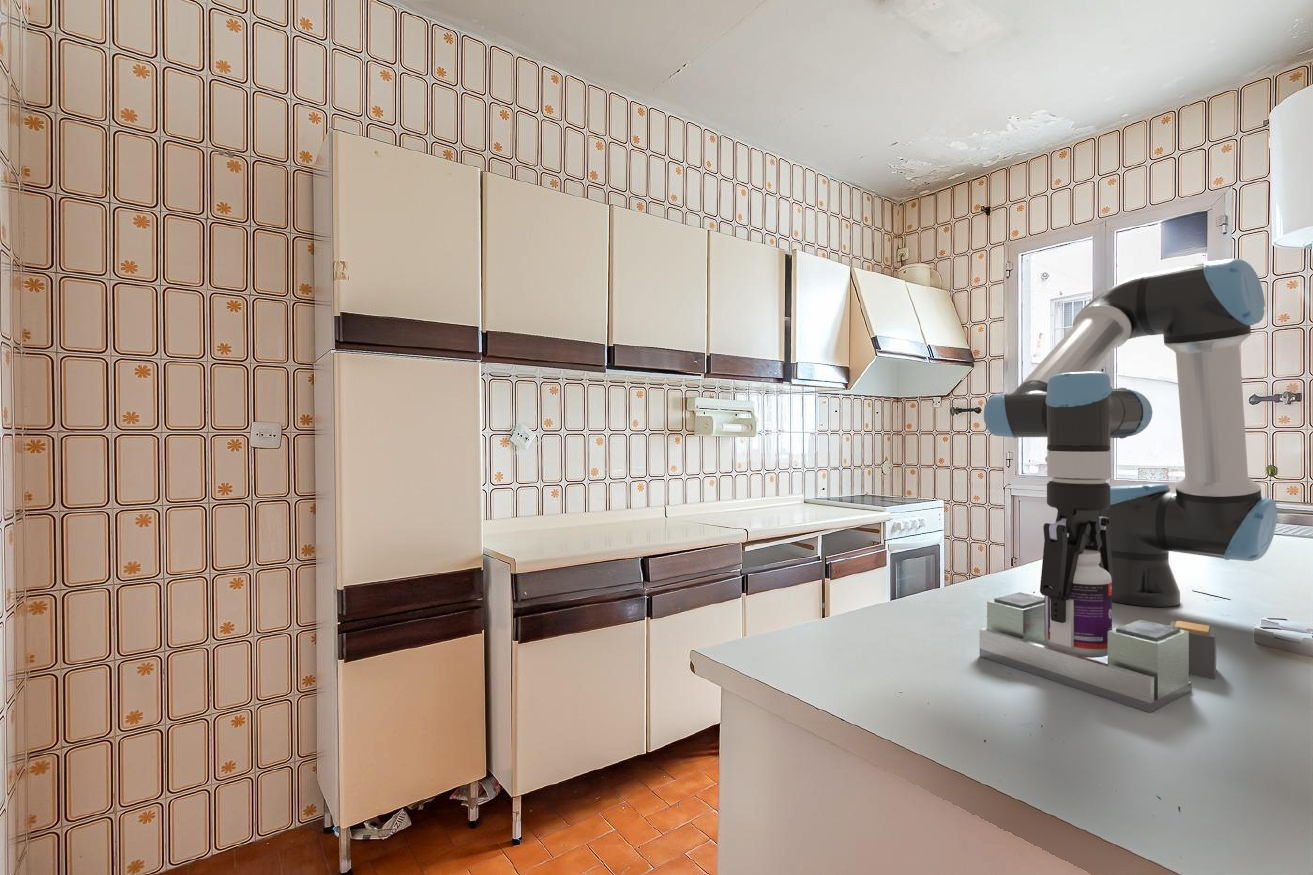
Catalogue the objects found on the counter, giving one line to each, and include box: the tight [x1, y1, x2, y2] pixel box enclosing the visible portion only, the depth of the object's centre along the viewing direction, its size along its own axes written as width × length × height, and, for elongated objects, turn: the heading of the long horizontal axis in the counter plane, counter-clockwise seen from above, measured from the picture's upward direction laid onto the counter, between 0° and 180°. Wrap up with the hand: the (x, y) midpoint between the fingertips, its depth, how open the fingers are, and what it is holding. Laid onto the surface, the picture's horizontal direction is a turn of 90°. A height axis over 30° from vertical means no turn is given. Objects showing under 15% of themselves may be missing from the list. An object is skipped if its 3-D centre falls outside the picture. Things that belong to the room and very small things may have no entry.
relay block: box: [1168, 620, 1217, 680], centre depth 88 cm, size 5×5×6 cm
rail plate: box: [978, 591, 1193, 714], centre depth 88 cm, size 12×22×9 cm, turn 30°
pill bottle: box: [1043, 549, 1113, 658], centre depth 88 cm, size 8×8×14 cm
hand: (1078, 638), depth 88 cm, fingers closed on pill bottle, 8 cm apart
